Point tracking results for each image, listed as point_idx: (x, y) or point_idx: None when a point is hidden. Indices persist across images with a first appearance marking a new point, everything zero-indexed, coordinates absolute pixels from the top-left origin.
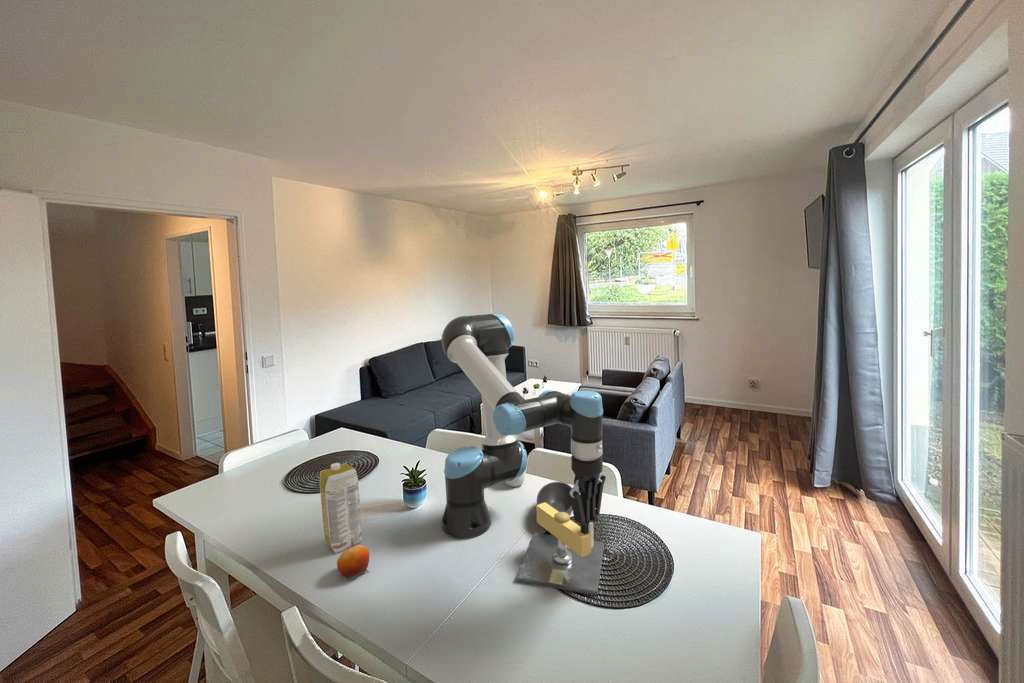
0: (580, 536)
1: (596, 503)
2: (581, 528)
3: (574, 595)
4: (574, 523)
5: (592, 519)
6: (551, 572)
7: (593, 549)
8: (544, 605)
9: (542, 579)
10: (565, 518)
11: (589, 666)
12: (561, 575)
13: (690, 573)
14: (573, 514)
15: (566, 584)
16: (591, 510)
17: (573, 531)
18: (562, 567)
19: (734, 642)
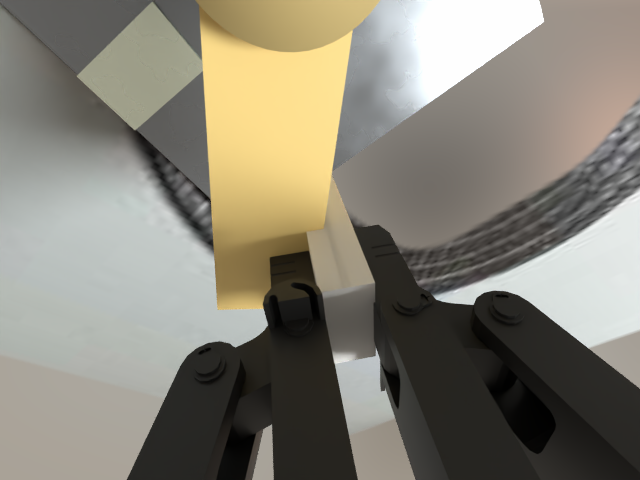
0: (223, 293)
1: (555, 476)
2: (272, 286)
3: (173, 176)
4: (328, 125)
5: (380, 366)
6: (132, 15)
7: (456, 27)
8: (16, 146)
9: (51, 28)
10: (279, 21)
11: (64, 357)
12: (168, 79)
13: (524, 294)
14: (133, 466)
15: (158, 139)
16: (413, 455)
17: (220, 220)
18: None
19: (371, 412)
